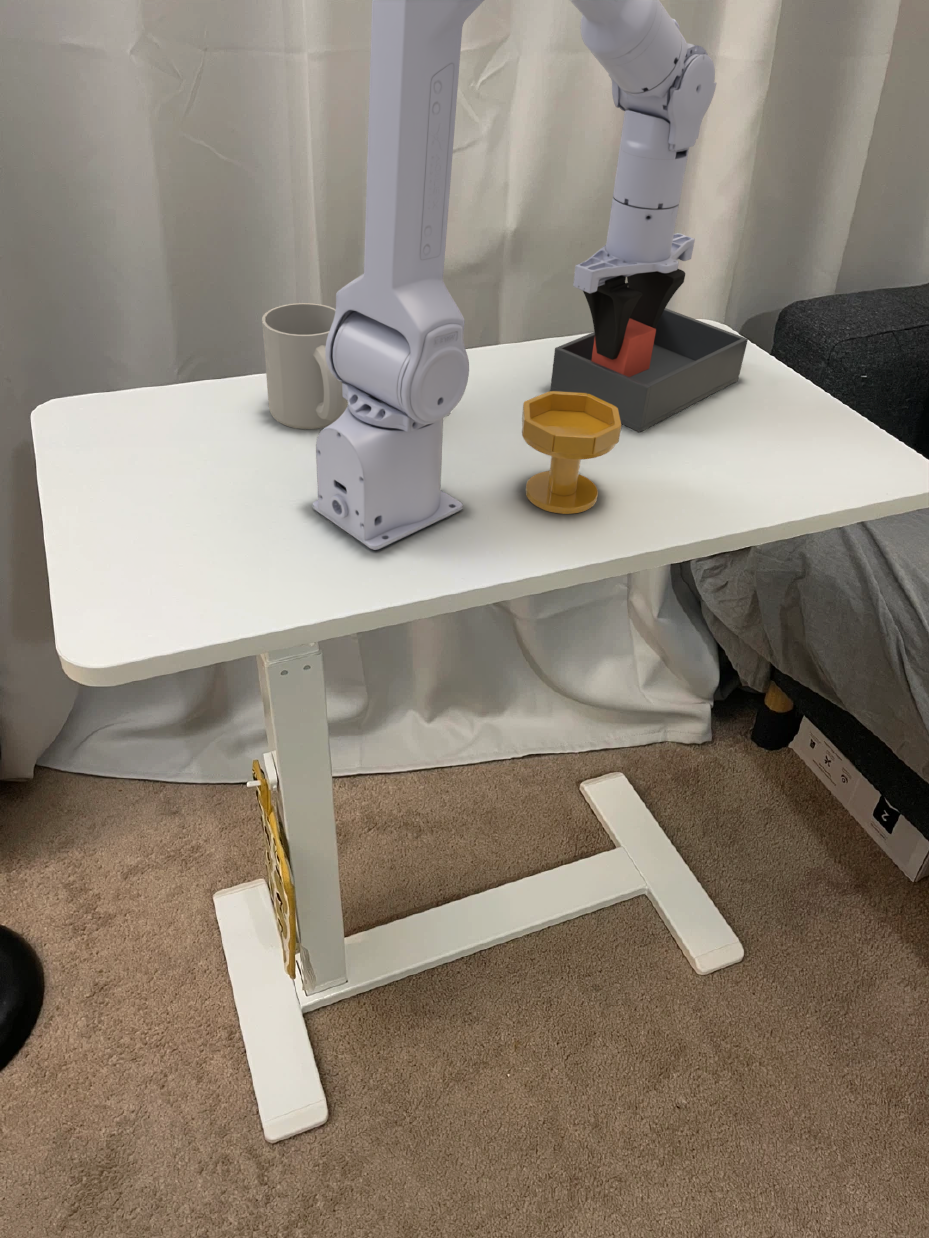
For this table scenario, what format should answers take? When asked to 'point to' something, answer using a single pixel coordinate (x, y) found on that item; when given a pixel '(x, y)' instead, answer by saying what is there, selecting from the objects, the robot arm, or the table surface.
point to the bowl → (567, 446)
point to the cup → (301, 366)
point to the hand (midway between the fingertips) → (622, 349)
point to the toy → (631, 350)
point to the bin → (656, 370)
